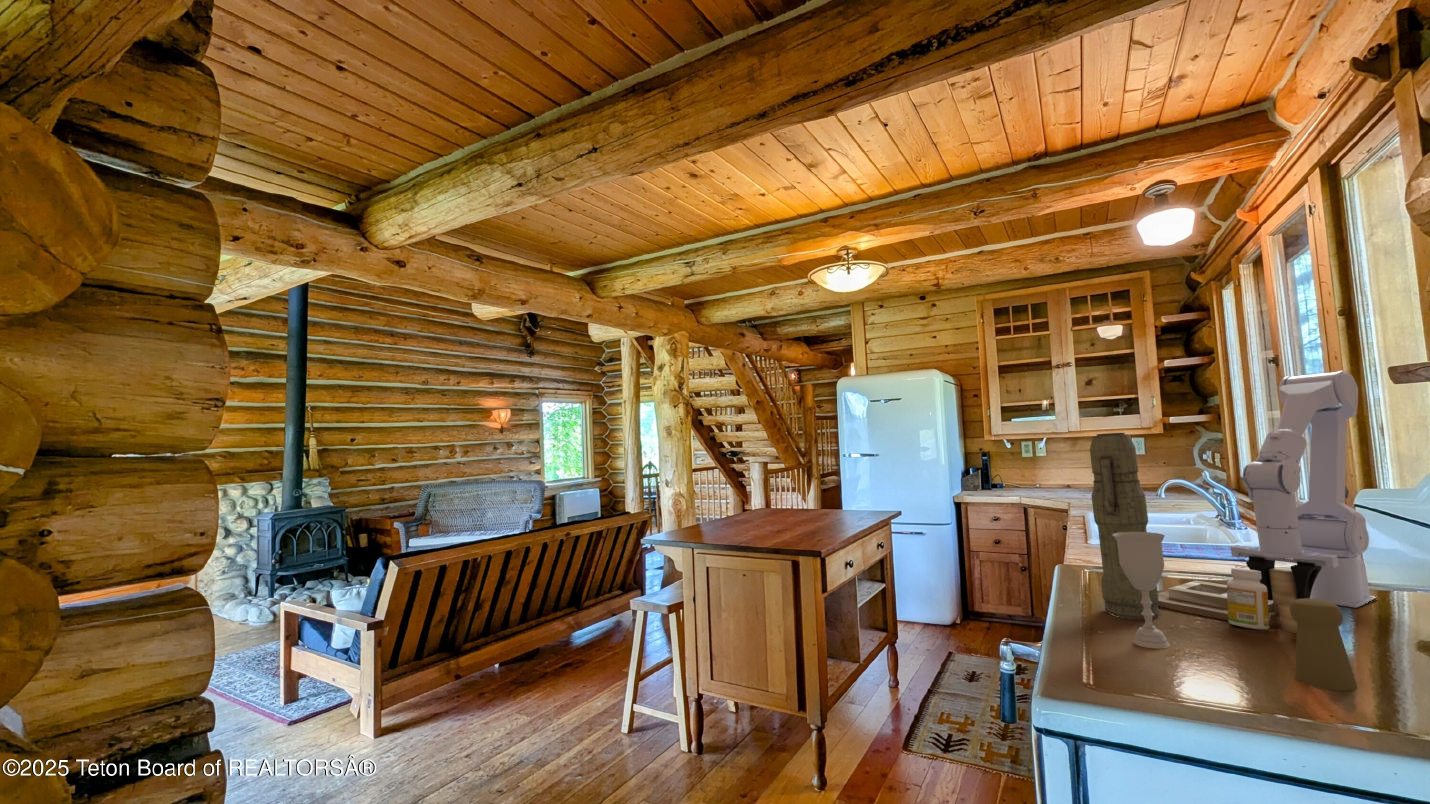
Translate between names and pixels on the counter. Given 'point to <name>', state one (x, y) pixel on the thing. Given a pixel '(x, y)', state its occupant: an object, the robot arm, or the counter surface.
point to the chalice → (1143, 577)
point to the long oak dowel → (1282, 587)
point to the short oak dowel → (1287, 618)
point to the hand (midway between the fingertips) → (1287, 601)
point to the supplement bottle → (1247, 600)
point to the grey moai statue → (1118, 519)
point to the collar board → (1197, 607)
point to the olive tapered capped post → (1321, 646)
